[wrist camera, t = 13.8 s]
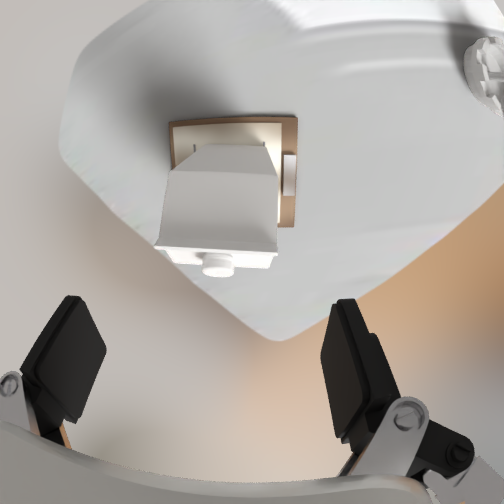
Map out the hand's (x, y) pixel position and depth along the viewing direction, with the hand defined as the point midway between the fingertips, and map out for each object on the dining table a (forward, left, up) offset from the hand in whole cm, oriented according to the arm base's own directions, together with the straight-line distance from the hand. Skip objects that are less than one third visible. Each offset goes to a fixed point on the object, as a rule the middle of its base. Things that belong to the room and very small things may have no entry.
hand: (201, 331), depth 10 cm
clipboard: (0, 0, -26) cm, 26 cm away
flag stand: (-20, +39, -27) cm, 51 cm away
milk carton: (0, 0, -26) cm, 26 cm away
